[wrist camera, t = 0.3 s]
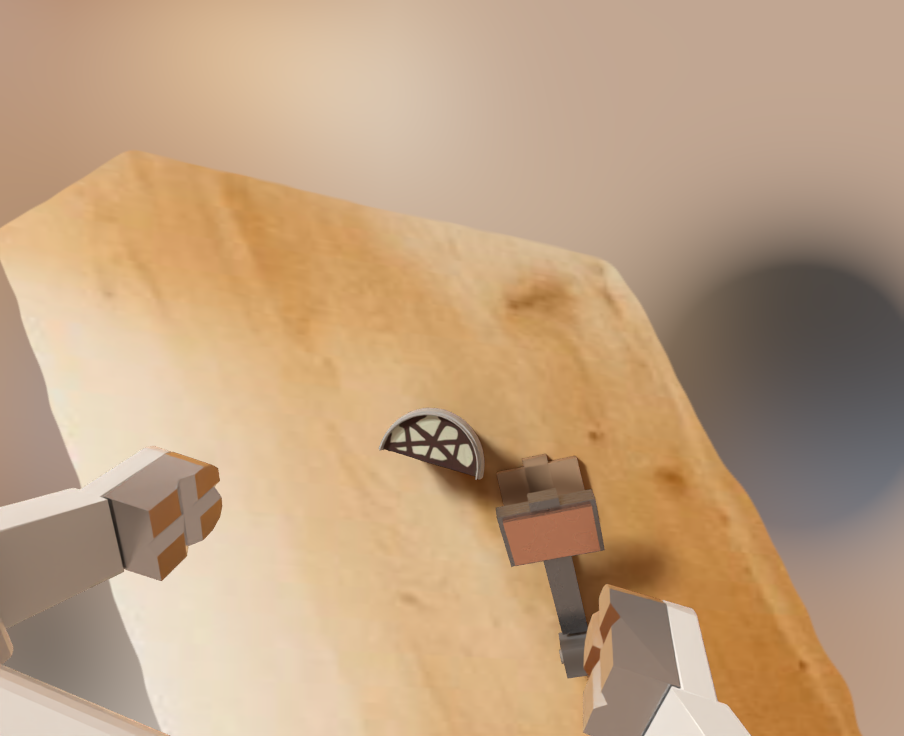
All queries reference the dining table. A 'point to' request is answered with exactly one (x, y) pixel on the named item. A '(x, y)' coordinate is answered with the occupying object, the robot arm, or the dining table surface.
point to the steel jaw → (554, 543)
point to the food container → (436, 440)
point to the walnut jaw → (565, 480)
